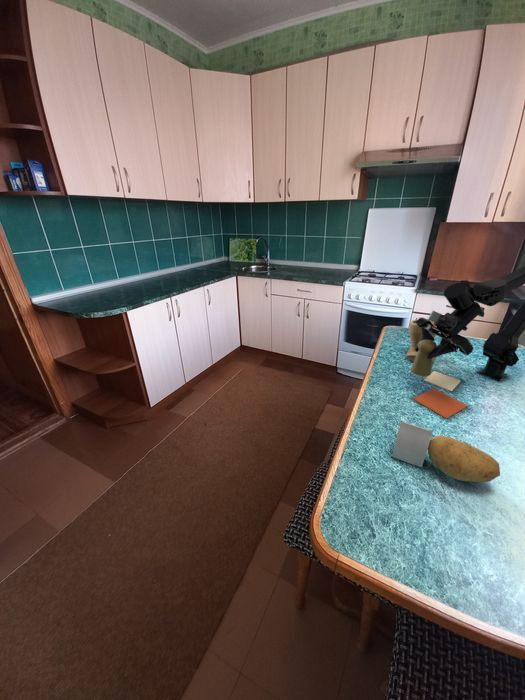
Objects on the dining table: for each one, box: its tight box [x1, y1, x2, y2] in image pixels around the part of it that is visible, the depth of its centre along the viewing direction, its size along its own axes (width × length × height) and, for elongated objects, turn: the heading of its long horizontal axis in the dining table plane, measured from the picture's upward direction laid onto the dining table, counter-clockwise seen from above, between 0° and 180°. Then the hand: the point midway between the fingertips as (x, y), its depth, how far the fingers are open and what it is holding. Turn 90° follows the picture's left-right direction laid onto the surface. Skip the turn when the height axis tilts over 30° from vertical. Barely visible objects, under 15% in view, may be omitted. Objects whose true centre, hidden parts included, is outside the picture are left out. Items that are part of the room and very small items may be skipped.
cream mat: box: [423, 370, 462, 393], centre depth 102 cm, size 9×9×1 cm
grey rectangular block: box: [391, 420, 433, 468], centre depth 70 cm, size 4×7×10 cm, turn 59°
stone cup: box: [405, 319, 437, 363], centre depth 114 cm, size 15×12×15 cm
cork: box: [410, 340, 438, 377], centre depth 93 cm, size 6×6×11 cm
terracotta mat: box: [412, 387, 468, 420], centre depth 91 cm, size 11×11×1 cm
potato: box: [427, 434, 501, 483], centre depth 66 cm, size 10×14×8 cm
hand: (421, 354), depth 92 cm, fingers closed on cork, 5 cm apart
